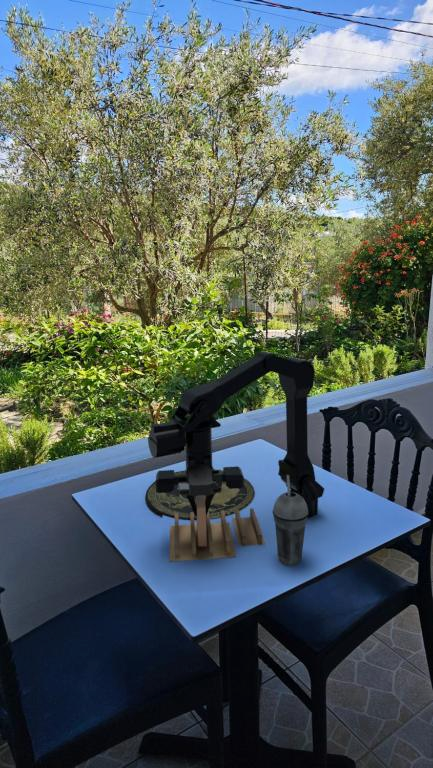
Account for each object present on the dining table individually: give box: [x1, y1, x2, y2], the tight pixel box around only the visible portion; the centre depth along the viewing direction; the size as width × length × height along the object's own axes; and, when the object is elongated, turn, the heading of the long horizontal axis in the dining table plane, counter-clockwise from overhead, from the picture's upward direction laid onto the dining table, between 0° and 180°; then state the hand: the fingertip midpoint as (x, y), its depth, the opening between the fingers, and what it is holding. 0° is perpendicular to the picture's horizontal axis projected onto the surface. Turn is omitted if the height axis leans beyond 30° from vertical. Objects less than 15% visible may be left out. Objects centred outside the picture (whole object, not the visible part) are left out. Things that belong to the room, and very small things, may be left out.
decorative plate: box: [144, 469, 256, 522], centre depth 128 cm, size 30×2×30 cm
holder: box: [232, 507, 266, 547], centre depth 109 cm, size 6×12×3 cm, turn 5°
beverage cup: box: [272, 475, 309, 567], centre depth 96 cm, size 7×7×20 cm
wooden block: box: [196, 495, 207, 547], centre depth 104 cm, size 2×9×9 cm, turn 5°
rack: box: [168, 510, 237, 563], centre depth 105 cm, size 14×14×4 cm
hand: (200, 514), depth 104 cm, fingers closed on wooden block, 2 cm apart
